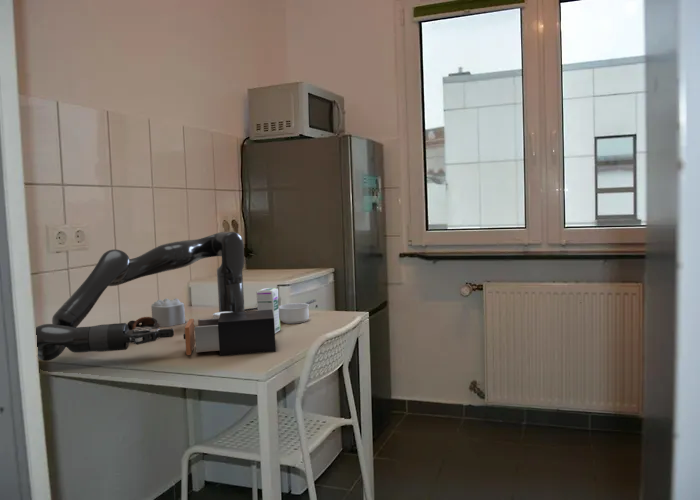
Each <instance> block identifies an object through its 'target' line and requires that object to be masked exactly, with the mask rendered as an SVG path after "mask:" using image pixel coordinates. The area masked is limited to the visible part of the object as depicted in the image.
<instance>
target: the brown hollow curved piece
mask: <svg viewBox="0 0 700 500" xmlns="http://www.w3.org/2000/svg"><path fill="white" fill-rule="evenodd" d="M126 324H127V325H128V328H129V330H133V329H135V328H136V327H141V328H143V327H144V326H148V327H158V328H159V329H160V324H159V323H157V320H156V319H154V318H152V316H142V317H139V318H138V319H136V320H129V322H127V323H126ZM154 324H155V325H154Z"/></svg>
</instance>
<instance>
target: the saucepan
mask: <svg viewBox="0 0 700 500" xmlns="http://www.w3.org/2000/svg"><path fill="white" fill-rule="evenodd" d="M315 302H317V299H311V300H308V301H306V302H304V303H303V302H295V303H284V304H279V312H280V322H282V324H289V325H291V324H293V325H294V324H301V323H305V322H306V321H308V320H309V319H310V311H309V307H310V305H311V304H313V303H315Z"/></svg>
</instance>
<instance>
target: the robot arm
mask: <svg viewBox="0 0 700 500" xmlns="http://www.w3.org/2000/svg"><path fill="white" fill-rule="evenodd" d="M215 257H221V264H220V265H219V267H217V268H216V282H217V298H218V312H224V311H230V312H244V311H258V309H257V307H256V306H255V307H249V308H245V294H244V293H245V292H244V277H243V276H244V274H243V269H244V266H245V244H244V239H243V237H242V236H241V234H240V233H238V232H236V231H219V232H217V233H213V234H211V235H210V234H209V235H208V236H204V237H201V238H197V239H196V238H195V239H186V240H185V239H183V240H178V241H173V242H167V243H163V244H160V245H157V246H155V247H154V248H152V249H149V250H148V251H146V252H145V253H142V254H141V255H139V256H135V257H132V258H130V257H129V255H128V254H127V253H126V252H125V251H123V250H120V249H116V248H115V249H109V250H106V251H105V252H104V253H102V255H101V256H100V257H99V259H98V261H97V263H96V264H95V266H94V267H93V269H92V271H91V272H90V273H89V274H88V276H87V277H86V278H85V280H84V281H83V283H81V284H80V286H79V287H78V288H77V289H76V290H75V291H74V293H72V295H70V296H69V298H68V299H67V300H66V301H65V302H64V303H63V304H62V305H61V306H60V307H59V308H58V309H57V310H56V311H55V313H54V314H53V315H52V318H51V323H44V324H39V325H37V326H35V327H36V335H37V347H38V357H37V358H38V359H39V360H41V361H44V362H47V361H52V360H55V359H57V358H58V357H60V355H62V354H63V352H64V351H65V349H68V350H69V352H72V353H74V354H76V353H77V354H81V353H92V352H98V353H105V352H114V351H117V352H118V351H126V350H128V349H129V347H130V344H131V343H132V344H133V345H135V346H138V345H142V344H146V343H151V342H156V341H157V340H159V339H163V338H164V339H165V338H173V337H174V335H175V329H174V328H173V327H172V328H160V327H159V326H158V327H159V328H158V327H148V326H144V327H143V328H141V327H136V328H135V329H133V330H129V328H128V325H127V324H128V323H127V322H119V323H118V322H117V323H107V324H104V323H103V324H98V325H97V324H96V325H90V326H80V324H81V323H82V322H83V321H84V320H85V319H86V317H87V316H88V315H89V313H90V312H91V311H92V309H93V308H94V306H95V305H96V303H97V302H98V300H99V299H100V298H101V296H102V295H103V293H104V292H105V291H106V290H107V288H108V287H116V286H120V285H123V284H126V283H129V282H131V281H134V280H138V279H140V278H144V277H148V276H153V275H156V274H160V273H164V272H169V271H173V270H178V269H183V268H185V267H188V266H190V265H192V264H194V263H196V262H198V261H201V260H203V259H207V258H215Z"/></svg>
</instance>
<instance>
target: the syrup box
mask: <svg viewBox="0 0 700 500" xmlns="http://www.w3.org/2000/svg"><path fill="white" fill-rule="evenodd" d="M255 293H256V294H255V295H256V305H257V311H258V310H272V311H273V316H274V327H275V335H276V333H278V332H279V331H281V329H282V327H281V321H280V312H279V306H280V300H279V288H278V287H266V288H261V289H259V290H257V291H256V292H255Z"/></svg>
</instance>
